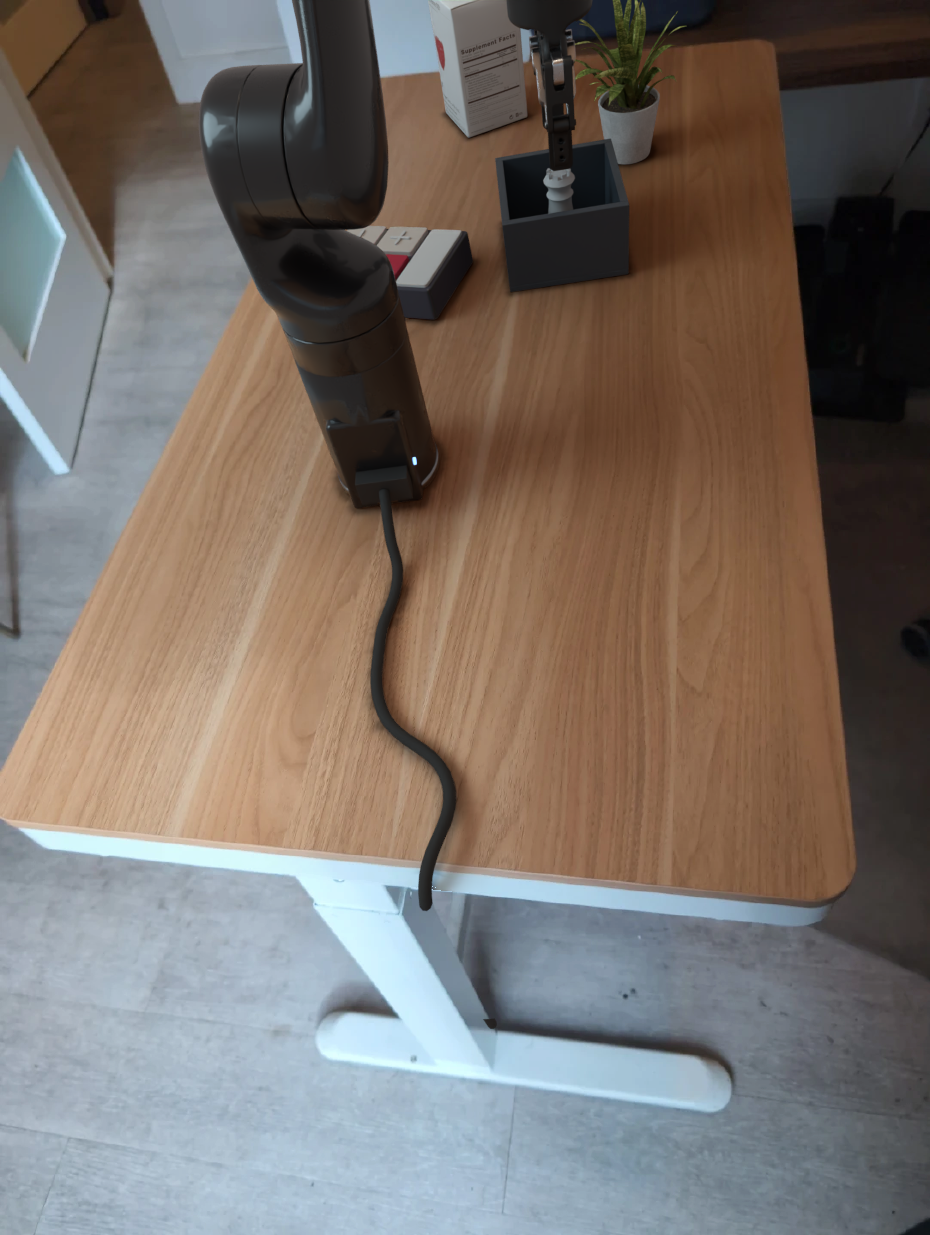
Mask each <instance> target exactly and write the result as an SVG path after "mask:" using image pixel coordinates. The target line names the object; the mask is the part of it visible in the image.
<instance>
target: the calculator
mask: <svg viewBox="0 0 930 1235" xmlns="http://www.w3.org/2000/svg"><path fill="white" fill-rule="evenodd" d="M346 231H348V232H350V233H352V234H354V235H357V236H359V237H361V238H364V239H366V240H368V241H370V242H372V243H373V244H375V245H376V246H378V247H379V248H380V249H381V250H382V251H383V252H384V253H385V254H386V256H387V257H388V259H389V261H390V263H391V265H392V268H393V271H394V275H395V279H396V284H397V288H398V292H399V296H400V301H401V305H402V309H403V313H404V317H405V319H418V320H431V321H432V320H437V319H438V318H439V317H440V315H441V313H442V312H443V311H444V309H445V307H446V306H447V304H448V302H449V301H450V299H451V298H452V296H453V295H454V293H455V291H456V290H457V288H458V287H459V285H460V283H462V280H463V279H464V277H465V275H466V274H467V273H468V271H469V268H470V267H471V266H472V264H473V263H474V257H473V252H472V247H471V244H470V243H471V242H470V238H469V233H468V231H467V230H461V229H443V228H442V229H440V228H439V229H436V228H434V229H428V228H427V227H424V226H423V227H421V226H391V227H389V228H387V227H386V226H384V225H370V226H368V227H365V228H362V229H354V230H346Z"/></svg>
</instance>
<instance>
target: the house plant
mask: <svg viewBox="0 0 930 1235" xmlns="http://www.w3.org/2000/svg"><path fill="white" fill-rule="evenodd" d="M640 4H641V5H640ZM612 5H613V12H614V13H613V15H614V27H615V31H616V42H617V47H616V48H612V49H608V48H609V47H608V46H607V45H606V44H605V41H603V39H602V37H601V36H600V34H599V33H598V32H597V30H595V28H594V27H593V26H592V25H591V24H590V23H588V21H586V20H584V19H583V18H582V19H580V20H578V21H580V22H581V23H580V26H581V25H582V26H585V27H587V28H589V29H590V30H591V31H592V32H593V33H594V35H595V37H597V39H598V40H599V42H600V43H601V44H599V43H596V42H592V41H591V40H590V41H589V40H584V41H579V42H575V46H576V45H582V44H594V45H595V46H597V47H598V48H597V47H593V46H588V47H583V48H582V49H580V51H582V50H586V49H592V50H594V51H595V52H596V53H597V54H598V55H599V57H600V58H601V59H602V60H603V62H604V63H605V65H606V66H607V68H608V69H606V70H601V69H598V68H592V67H591V66H590V65H589V64H588V63H587V62H585V61H583V60H581V59H576V58H575V62H577V63H580V64H581V65H583V66H584V67H585V68H584V69H582V70H580V71H579V72H578V73H577V75H575V81H576V80H578V79H581V78H582V77H586V76H588V75H592V76H593V78H592V79H596V80H598V81H600V82H598V81H595V82H591V83H589V86H591V85H594V84H599V83H600V84H601V85H599V86H597V87H596V90H595V96H594V101H593V102H595V101H596V100H597V98H599V99H598V101H597V106H598V111H599V117H600V123H601V129H602V135H603V140H604V139H610V138H611V141H612V144H613V148H614V151H615V155H616V158H617V162H618V165H632V164H637V163H639V162H642V161H644V160H645V159H646V158H647V157H649V155H650V153H651V148H652V143H653V142H652V141H653V136H654V131H655V127H656V121H657V116H658V110H659V103H660V99H661V94H660V92H659V90H658V89H656V88H655V86H656V85H658V84H659V83H660V82H662V81H664V80H667V79H670V80H674V81H675V82H677V80H676V77H675V75H673V74H671V75H670V74H669V75H667V76H665V77H663V78H661V79H659V80H657V81H656V82H653V84H651V85H649V84H650V82H651V81H652V80H653V79H654V77H655V76H656V75H657V74H658V73H663V70H662V68H661V67H658V66H652V65H653V64H654V62H655V60H657V58H658V57H660V55H661V54H662V53H664V52H665V51H666V50H667V49H668V48H671V47H677V45H675V44H665V45H662V43H663V42H664V41H665V39H662V41H660V40H661V38H662V36H663V35H664V34H665V32H666V30H667V29H668V27H669V26H670V24H671V22H672V21H673V19H674V18H675V16H676V15H677V13H678V12H679V10H677V11H676V12H675V13H674V15H673V16H672V17H671V18H670V19H669V20H668V22H667V24H666V25H665V26H664V29H663V30H662V32H661V33H660V35H659V36H658V38H657V39H656V41H655V42H654V44H653V46H652V48H651V50H650V51H649V53H648V56H647V58H646V60H645V62H644V64H643V66H642V68H641V71H640V73H639V69H640V66H641V61H642V57H643V49H644V43H645V42H644V40H645V36H646V32H647V14H646V8H645V4H644V1H643V0H639V1H638V0H634V11H633V12H634V13H633V16H632V18H631V12H632V0H627V2H626V3H625V8H624V12H623V6H622V2H621V0H612ZM685 27H686V25H680V26H678V27H676V28H674V29H672V31H670V33H669V35H670V34H672V33H673V32H676V31H677V30H679V29H681V28H685ZM659 41H660V42H659ZM658 42H659V44H658ZM657 44H658V45H657ZM661 45H662V46H661ZM601 50H602V51H601ZM604 53H605V54H604ZM607 57H608V58H609V59H608V58H607ZM609 60H610V61H611V63H610V61H609ZM611 64H612V65H611ZM638 73H639V74H638ZM611 77H612V78H613V79H614V81H615V82H614V81H613V79H612V78H611ZM603 78H607V79H608V80H609V81H610V82H611V84H612V85H609V83H607V81H605V80H604V79H603Z"/></svg>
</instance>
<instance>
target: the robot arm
mask: <svg viewBox="0 0 930 1235" xmlns="http://www.w3.org/2000/svg"><path fill="white" fill-rule="evenodd" d="M506 2H507V13H508V18H509V20H510V22H511V23H512V24H513V25H515V26H516V27H518V28H520V29H521V30H524V31H530V30H533V35H531V36H528V44H529V55H530V58H531V65H532V70H533V75H534V76H535V78H536V79H535V80H536V89H537V101H538V103H539V105H540V106H541V107H540V108H541V121H542V127H543V129H545V131H546V133H547V140H548V141H547V143H548V149H549V161H550V168H551V170H553V171H559V170H565V169H570V168H571V167H572V166H573V150H572V145H573V131H575V130H576V126H577V119H576V118H575V98H576V94H577V84H576V80H575V78H576V74H575V63H576V61H575V59H576V58H577V52H576V51H577V50H576V45H575V44H576V42H575V40H573V30H572V28H570V29H567V28H568V27H569V26H570V25H571V24H573V23H575V22H578V21H579V20H580V19H582V20H583V18H584V17H585V16H587V14H588V13H589V12H590V11H591V8H592V6H593V0H506ZM291 3H292V8H293V12H294V17H295V22H296V27H297V33H298V38H299V44H300V52H301V59H302V62H295V63H294V62H293V63H292V62H291V63H274V64H273V63H272V64H271V63H270V64H248V65H238V66H230V67H227V68H224V69H221V70H220V71H218V72H216V73H214V75H213V76H212V77H211V78H210V79H209V80H208V81H207V83H206V86H205V87H204V89H203V92H202V94H201V97H200V102H199V108H198V122H197V123H198V137H199V145H200V146H199V147H200V150H201V156H202V160H203V165H204V168H205V171H206V175H207V178H208V181H209V183H210V186H211V189H212V192H213V195H214V197H215V200H216V202H217V204H218V208H219V209H220V211H221V213H222V216H223V218H224V220H225V222H226V225H227V227H228V228H229V231H230V233H231V236H232V238H233V239H234V242H235V244H236V246H237V248H238V251H239V252H240V255H241V257H242V260H243V262H244V263H245V266H246V268H247V270H248V272H249V275H250V276H251V279H252V281H253V283H254V286H255V287H256V290H257V292H258V293H259V295H260V297H261V298H262V299H263V301H264V302H265V303H266V304H267V306H268V307H269V308H271V309H272V310H273V311H274V312H275V314H276V317H277V319H278V322H279V325H280V327H281V329H282V331H283V334H284V336H285V339H286V342H287V344H288V347H289V350H290V352H291V355H292V358H293V360H294V363H295V366H296V369H297V371H298V373H299V376H300V379H301V382H302V384H303V387H304V389H305V392H306V394H307V398H308V399H309V402H310V406H311V407H312V411H313V413H314V415H315V418H316V421H317V423H318V426H319V428H320V431H321V434H322V436H323V439H324V441H325V444H326V447H327V449H328V452H329V455H330V457H331V459H332V462H333V465H334V467H335V469H336V475H337V478H338V481H339V483H340V485H341V488H342V489H343V491H344V492H345V494H347V495H348V497H350V500H351V501H352V504H353V507H354V508H355V509H361V508H362V509H363V508H368V507H370V508H371V507H377V506H380V512H381V513H380V514H381V522H382V529H383V535H384V541H385V545H386V549H387V553H388V556H389V559H390V564H391V584H390V589H389V591H388V592H389V593H388V596H387V599H386V602H385V604H384V607H383V609H382V612H381V613H380V616H379V618H378V622H377V625H376V629H375V632H374V633H375V634H374V639H373V647H372V648H373V649H372V655H371V664H370V677H369V678H370V679H369V681H370V682H369V683H370V693H371V694H370V695H371V699H372V703H373V706H374V710H375V713H376V716H377V717H378V718H379V721H380V723H381V724H382V726H383V728H385V730H386V731H387V732H388V733H389V734H390V735H391V736H392V737H393V738H394V739H396V740H397V741H398V742H399V743H400V744H402V745H403V746H405V747H406V748H408V749H409V750H410V751H412V752H414V753H415V754H417V755H418V756H419V757H421V758H422V759H423V760H425V761H426V762H427V764H429V765H430V766H431V767H432V769H433V770H434V771H435V773H436V774H437V776H438V779H439V781H440V785H441V790H442V805H441V810H440V814H439V817H438V820H437V822H436V825H435V827H434V829H433V832H432V834H431V836H430V839H429V840H428V844H427V846H426V849H425V851H424V854H423V857H422V859H421V864H420V866H419V873H418V881H417V882H418V883H417V894H418V896H417V897H418V906H419V908H420V910H421V911H422V912H428V911H429V910H431V908H432V906H433V878H434V872H435V868H436V864H437V860H438V858H439V855H440V852H441V850H442V847H443V845H444V843H445V840H446V838H447V835H448V834H449V831H450V829H451V825H452V823H453V820H454V817H455V812H456V809H457V808H456V807H457V788H456V783H455V779H454V777H453V774H452V771H451V770H450V768H449V766H448V765H447V763H446V762H445V760H444V759H443V758H442V757H441V755H440V754H438V753H437V751H435V750H434V749H433V748H431V746H429V745H427V744H426V743H424V742H423V741H421V740H420V739H418V738H417V737H416V736H414V735H412V734H411V733H410V732H408V731H407V730H405V729H404V728H403V727H402V726H401V725H400V724H398V722H397V721H396V720H395V718H394V717H393V715H392V714H391V712H390V710H389V708H388V707H389V706H388V705H387V704H388V703H387V701H386V697H385V693H384V685H383V683H384V682H383V674H384V673H383V672H384V661H385V653H386V651H385V650H386V644H387V637H388V631H389V627H390V624H391V621H392V618H393V615H394V612H395V611H396V608H397V605H398V603H399V599H400V597H401V593H402V590H403V589H402V588H403V581H404V565H403V559H402V555H401V552H400V548H399V545H398V541H397V536H396V529H395V523H394V516H393V509H392V508H393V507H392V505H393V504H401V503H407V502H415V501H421V500H422V499H423V497H424V496H423V495H424V494H423V493H424V490H425V489H426V488H427V487H428V486H430V484H431V483H432V482H433V481H434V479H435V477H436V475H437V473H438V471H439V468H440V463H441V462H440V461H441V460H440V454H439V449H438V446H437V443H436V441H435V437H434V434H433V433H434V432H433V429H432V425H431V421H430V417H429V412H428V409H427V405H426V401H425V396H424V392H423V389H422V384H421V380H420V376H419V372H418V368H417V364H416V360H415V356H414V351H413V347H412V343H411V339H410V334H409V331H408V330H409V329H408V326H407V321H406V317H404V313H403V309H402V305H401V301H400V296H399V292H398V288H397V284H396V279H395V275H394V271H393V268H392V265H391V263H390V261H389V259H388V257H387V256H386V254H385V253H384V252H383V251H382V250H381V249H380V248H379V247H378V246H376V245H375V244H373V243H372V242H370V241H368V240H366V239H364V238H361V237H359V236H357V235H354V234H352V233H350V232H348V231H347V230H354V229H362V228H365V227H368V226H372V224H374V223H375V222H376V220H377V219H378V218H379V216H380V214H381V212H382V210H383V207H384V206H385V202H386V201H385V200H386V195H387V190H388V182H389V162H390V161H389V142H388V128H387V118H386V111H385V110H386V109H385V103H384V94H383V85H382V78H381V73H380V72H381V70H380V64H379V58H378V50H377V44H376V36H375V29H374V22H373V21H374V20H373V16H372V6H371V1H370V0H291ZM564 105H565V107H564ZM482 1020H483V1022H484V1023H485V1025H486V1027H488V1029H490V1030H494V1029H496V1028H497V1025H498V1022H497V1020H496V1018H494V1017H493V1018H484V1019H482Z"/></svg>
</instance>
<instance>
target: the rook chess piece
mask: <svg viewBox="0 0 930 1235" xmlns="http://www.w3.org/2000/svg"><path fill="white" fill-rule="evenodd" d="M546 174H547V175H546V176H545V178H544V180H543V182H544V184H545V185H546V186H547V188H548V192H547V198H548V199H549V212H548V214H549V213H556V212H562V211H568V210H573V206H572V194H573V190H572V189H571V184H572V183H573V181H574V179H575V176H574V174H573V173H572V172H571V169H565V170H559V171H553V170H551V171H550V169H549V168H548V169H547V170H546Z"/></svg>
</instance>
